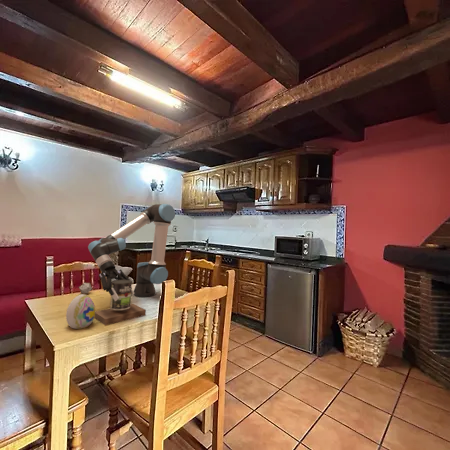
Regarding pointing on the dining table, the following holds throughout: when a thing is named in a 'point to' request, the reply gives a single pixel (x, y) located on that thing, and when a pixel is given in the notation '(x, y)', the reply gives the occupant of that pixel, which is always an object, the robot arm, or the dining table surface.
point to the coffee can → (121, 294)
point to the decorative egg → (80, 312)
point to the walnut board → (119, 314)
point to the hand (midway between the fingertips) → (125, 297)
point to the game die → (85, 288)
